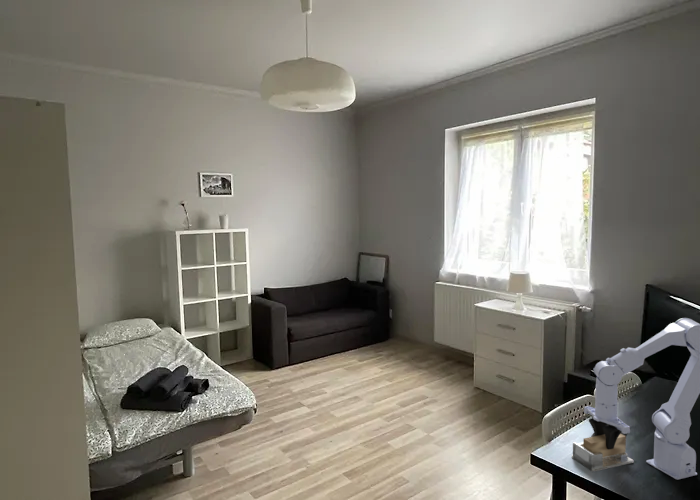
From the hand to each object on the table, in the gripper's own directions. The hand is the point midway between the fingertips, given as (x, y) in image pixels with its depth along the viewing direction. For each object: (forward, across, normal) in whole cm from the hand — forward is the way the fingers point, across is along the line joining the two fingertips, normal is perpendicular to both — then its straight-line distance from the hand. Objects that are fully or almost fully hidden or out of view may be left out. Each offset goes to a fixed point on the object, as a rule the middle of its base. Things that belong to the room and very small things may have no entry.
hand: (605, 445), depth 132 cm
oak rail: (+2, 0, 0) cm, 2 cm away
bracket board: (+4, 0, 0) cm, 4 cm away
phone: (+5, -11, +14) cm, 19 cm away
